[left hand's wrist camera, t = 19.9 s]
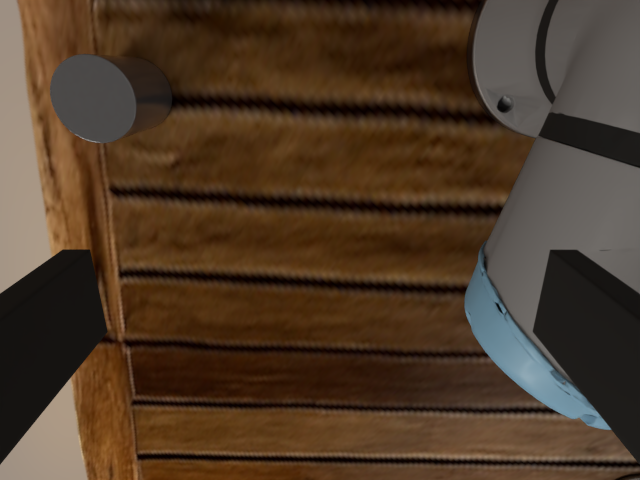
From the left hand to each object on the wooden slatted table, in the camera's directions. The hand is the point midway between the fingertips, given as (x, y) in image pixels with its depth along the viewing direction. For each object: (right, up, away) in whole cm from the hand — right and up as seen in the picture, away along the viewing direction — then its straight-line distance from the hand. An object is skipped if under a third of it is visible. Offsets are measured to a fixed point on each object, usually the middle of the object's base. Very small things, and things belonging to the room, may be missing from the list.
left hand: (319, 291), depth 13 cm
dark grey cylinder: (-16, +14, +25) cm, 33 cm away
